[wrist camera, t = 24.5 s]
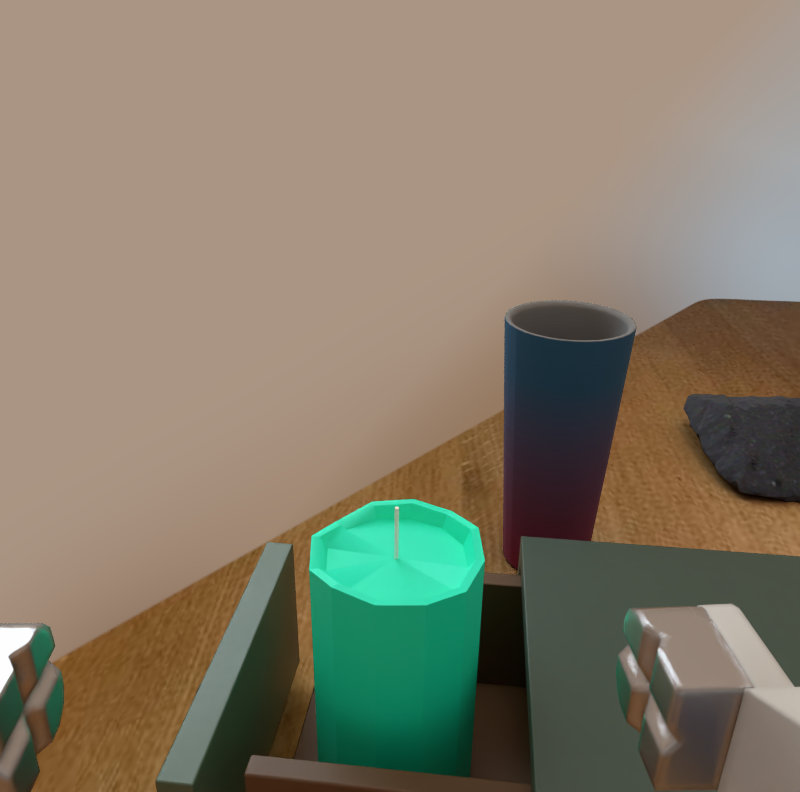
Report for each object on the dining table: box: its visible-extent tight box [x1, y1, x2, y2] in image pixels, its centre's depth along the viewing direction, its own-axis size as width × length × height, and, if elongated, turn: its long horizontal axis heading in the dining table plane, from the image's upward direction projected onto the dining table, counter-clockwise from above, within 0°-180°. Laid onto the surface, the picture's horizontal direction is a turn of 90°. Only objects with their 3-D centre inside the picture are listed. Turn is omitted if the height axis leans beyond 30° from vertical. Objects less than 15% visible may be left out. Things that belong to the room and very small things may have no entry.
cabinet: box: [517, 536, 800, 792], centre depth 28 cm, size 16×14×9 cm
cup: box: [503, 300, 636, 570], centre depth 43 cm, size 7×7×15 cm
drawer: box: [156, 542, 532, 792], centre depth 29 cm, size 16×12×7 cm
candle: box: [309, 499, 485, 777], centre depth 27 cm, size 6×6×12 cm
